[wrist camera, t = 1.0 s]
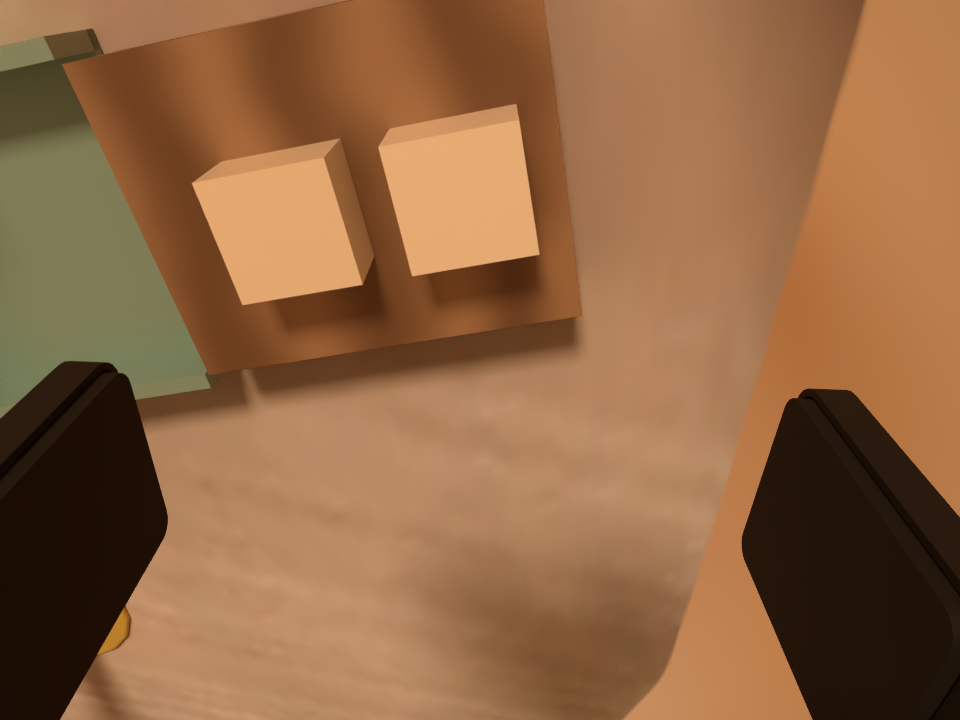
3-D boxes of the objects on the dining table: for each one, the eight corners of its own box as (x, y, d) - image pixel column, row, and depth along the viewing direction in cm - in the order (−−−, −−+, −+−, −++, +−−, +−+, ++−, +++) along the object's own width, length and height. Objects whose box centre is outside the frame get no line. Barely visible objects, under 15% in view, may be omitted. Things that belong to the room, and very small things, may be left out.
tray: (92, 28, 28) (43, 36, 25) (234, 352, 36) (211, 387, 33) (-199, 93, 29) (-278, 108, 26) (1, 390, 37) (-42, 427, 34)
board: (532, -40, 26) (538, -41, 23) (573, 279, 33) (582, 315, 30) (114, 51, 28) (61, 64, 25) (236, 334, 35) (208, 375, 32)
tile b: (340, 138, 26) (323, 157, 23) (374, 255, 28) (362, 284, 26) (220, 161, 26) (191, 183, 24) (264, 274, 29) (242, 305, 26)
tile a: (516, 104, 25) (519, 119, 23) (535, 227, 28) (539, 254, 25) (389, 128, 26) (378, 147, 23) (419, 247, 28) (411, 276, 26)
